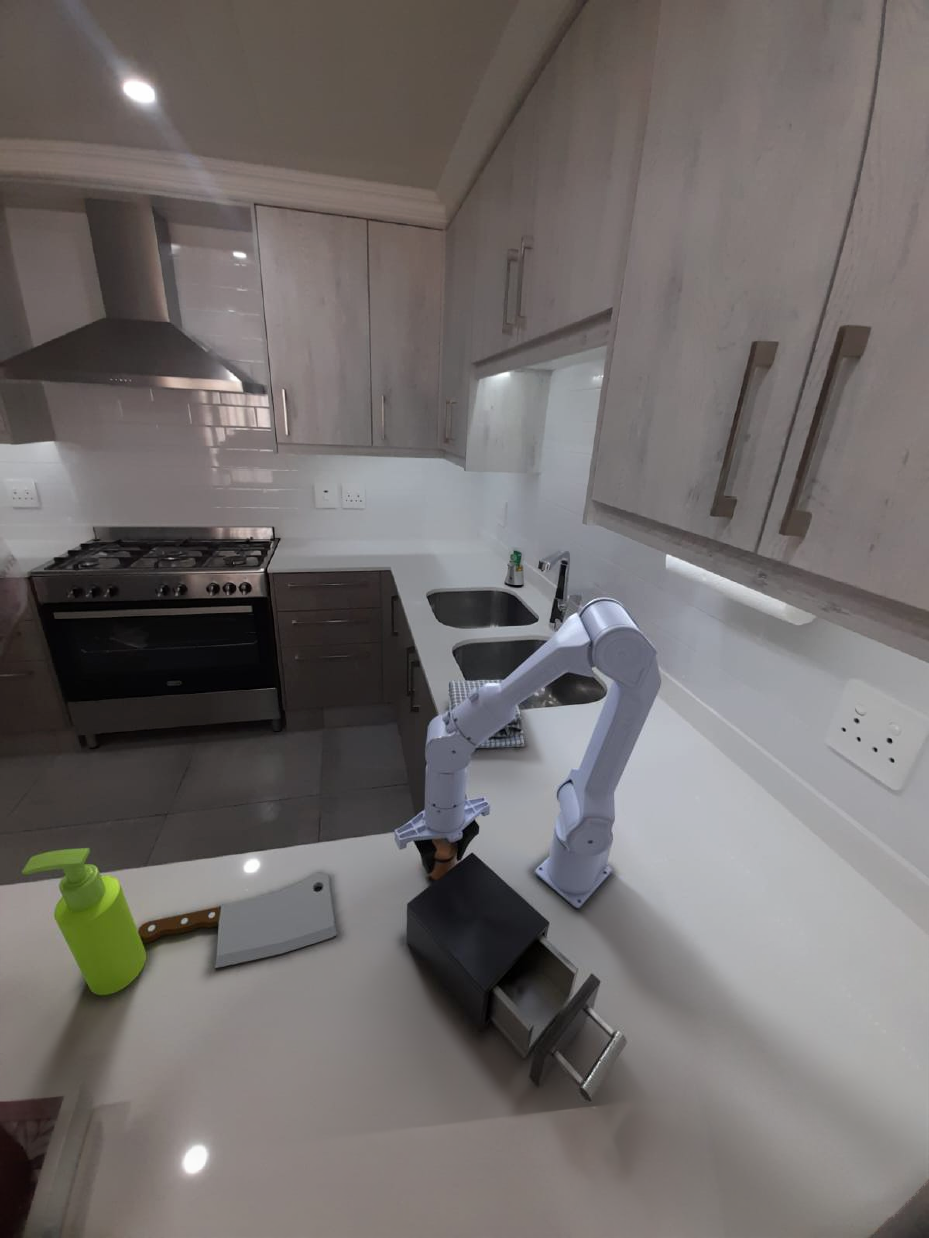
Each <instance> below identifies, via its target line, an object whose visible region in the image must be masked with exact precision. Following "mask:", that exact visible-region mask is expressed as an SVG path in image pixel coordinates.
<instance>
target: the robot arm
mask: <svg viewBox="0 0 929 1238" xmlns="http://www.w3.org/2000/svg"><path fill="white" fill-rule="evenodd" d="M657 654H658V650H657V649H656V647H655V646H654V645H653V644H652V642H651V641H650V640H649V639H648V638H647V637H646V635H645V634H644V633H643V632H642V630H641V629H640V627H639V625H638V623H637V622H636V620H635V619H634V618H633V616H632V615H631V614H630V612H629V611H628V610H627V609H626V608H625V606H624V605H623V604H622V603H621V602H620V601H618V600H617V599H614V598H612V597H598V598H594V599H592V600H590V601H589V602H587V603H586V604H585V605H584V606H583V607H582V608H581V609H580V611H579V612H575V613H573V614H571V615H569V616H568V617H567V618H566V620H565V621H563V624H562V625H561V626H560V627H559V628H558V630H557V631H556V632H555V633H554V635H552V636H551V637H550V638H549V639H548V640H547V641H546V642H545V643H543V644H542V645H541V646H540V647H539V648H538V649H537V650H536V651H534V652H533V653H532V654H531V655H530V656H529V657H528V658H527V659H526V660H525V661H524V662H522V663H521V664H520V665H519V666H518V667H517V668H516V669H515V670H513V671H512V672H511V673H510V674H509V675H508V676H506V678H505V679H503V680H504V681H502V682H501V683H486V684H484V685H483V686H482V687H481V688H479V689H477V688H476V687H474V688H473V689H472V690H470V691H469V692H468V698H467V699H466V700H464V701H463V702H462V703H461V704H459V705H458V706H457V707H456V708H455V709H453V710H452V711H451V712H449V710H447V711H445V712H444V713H441V714H438V715H436V716H435V717H433V718H432V719H431V720H430V722H429V724H428V726H427V727H426V729H427V734H426V735H427V736H426V739H425V740H426V741H425V747H424V758H425V762H426V766H425V781H424V782H425V783H424V809H423V810H422V811H420V812H419V813H418V814H417V815H416V816H414V817H413V818H411V820H409V821H408V822H406V823H405V824H404V825H402V826H400V827H399V828H396V829H394V841H395V844H396V846H397V848H398V850H399V851H401V850H404V849H406V848H407V844H409V843H411V842H413V843H414V845H415V847H416V849H417V851H418V852H419V855H420V858H421V864H422V866H423V868H424V871H425V872H426V874H427V875H429V874H430V873H432V871H433V860H434V856H435V853H436V851H437V849H436V847H435V845H434V843H433V842H432V839H438V838H447V839H448V840H449V841H450V842H455V841H456V843H457V845H458V852H457V862H460V861H462V860H463V857H464V855H465V852H466V851H467V849H468V846H469V845H470V844H471V842H472V841H473V839H474V838H476V836H478V835H479V834H480V825H479V823H478V822H477V821H476V819H477V818H478V817H479V816H480V815H481V816H482V817H486V816H489V815H490V813H491V804H490V803H489V801H488V800H487V798H486V797H485V796H480V797H476V798H469V799H468V798H467V799H466V795H467V781H468V766H469V764H470V763H471V758H472V754H473V753H474V752H475V751H476V749H477V748H476V747H478V746H479V745H480V744H482V743H483V742H484V741H486V740H487V739H488V738H490V737H491V736H492V735H494V734H495V733H496V732H498V731H499V730H500V729H502V728H503V727H504V726H505V725H507V724H508V723H509V722H511V721H512V720H513V719H514V718H515V709H516V706H517V705H518V706H519V705H520V704H521V703H523V702H524V701H525V700H527V699H528V698H530V697H532V696H533V695H535V694H536V693H538V692H539V691H541V690H542V689H544V688H545V687H547V686H548V685H550V684H551V683H553V682H554V681H555V680H558V679H559V678H560V677H562V676H564V674H567V673H571V674H575V675H579V676H584V677H587V678H595V677H596V675H595V673H594V670H593V669H592V668H596V670H597V671H599V672H600V673H601V674H603V676H605V677H607V678H609V679H611V680H612V682H611V685H610V688H609V690H608V693H607V696H606V698H605V700H604V703H603V706H602V709H601V710H600V713H599V716H598V719H597V721H596V724H595V727H594V728H593V731H592V734H591V737H590V739H589V742H588V744H587V747H586V749H585V751H584V752H585V753H584V754H583V757H582V760H581V763H580V765H579V767H573V768H571V769H570V771H569V774H568V776H567V777H566V778H565V779H564V780H563V781H562V782H560V783H559V785H558V786H557V788H556V792H555V794H556V795H555V796H556V799H557V802H558V804H559V810H560V812H559V814H558V816H557V817H556V820H555V822H554V828H553V834H552V838H551V839H552V840H551V845H550V850H549V855H548V857H547V858H546V859H545V860H544V861H543V862H542V863H541V864H540V865H538V866H537V868H536V869H535V871H534V873H535V875H536V876H538V878H540V879H541V880H542V881H543V882H545V883H546V884H547V885H548V886H549V887H551V889H553V891H555V892H556V893H557V894H559V895H560V896H561V897H563V899H565V900H566V901H567V902H568V903H569V904H570V905H572V906H573V907H574V908H576V909H580V908H581V907H582V906H583V905H584V903H586V901H587V900H588V899H590V897H591V896H592V894H594V892H595V891H596V890H597V889H598V888H599V886H601V885H602V883H604V881H605V880H606V879H607V878H608V877H609V876H610V874H611V873H612V869H613V868H612V867H611V866H610V865H608V861H609V857H610V853H611V850H612V849H611V848H612V845H613V841H614V834H613V826H614V823H615V821H616V807H615V806H616V805H615V792H616V789H617V787H618V785H619V782H620V780H621V778H622V776H623V774H624V772H625V769H626V767H627V764H628V762H629V760H630V757H631V755H632V753H633V751H634V748H635V746H636V744H637V742H638V739H639V737H640V734H641V732H642V730H643V728H644V725H645V723H646V721H647V719H648V717H649V714H650V712H651V709H652V707H653V705H654V702H655V701H656V698H657V697H658V694H659V691H660V689H661V686H662V677H661V674H660V669H659V665H658V660H657Z"/></svg>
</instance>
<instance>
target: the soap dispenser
mask: <svg viewBox="0 0 929 1238" xmlns="http://www.w3.org/2000/svg"><path fill="white" fill-rule="evenodd" d="M90 853H91V849H90V848H89V847H83V848H81V847H80V848H79V847H78V848H68V849H57V850H52V851H47V852H43V853H39V854H36V855H33V856H31V857H30V859H29V860H28V861H27V863H26V864H25V866H24V868H23V869H22V870H21V874H24V875H31V874H35V873H38V872H46V871H55V870H62V871H63V873H64V876H63V877H62V878H61V880H60V881H59V884H58V888H59V892H60V893H61V897H60V899H59V900H58V901H57V903H56V906H55V907H54V913H53V917H54V919H55V922H56V923H57V926H58V929H60V932H61V934H62V936H63V938H64V940H65V942H66V944H67V946H68V948H69V950H70V953H71V954H72V955H73V958H74V960H75V962H76V964H77V966H78V968H79V970H80V972H81V975H82V976H83V978H84V980H85V982H86V984H87V985H88V988H89V990H90V991H91V992H92V993H93V994H95V995H99V996H107V995H112V994H115V993H117V992H119V991H121V990H123V989H124V988H126V987H127V986H129V985H130V984H131V983H132V982H133V981H135V979H136V978H137V977H138V976H139V975H140V973H141V972H142V970H143V968H144V966H145V964H146V961H147V952H146V949H145V946H144V942H143V941H141V938H140V935H139V933H138V931H139V929H138V927H137V925H136V922H135V920H134V918H133V914H132V912H131V909H130V906H129V905H128V902H127V899H126V896H125V894H124V892H123V889H122V886H121V883H120V881H119V880H118V878H116V877H115V876H113V875H109V874H101V873H100V871H99V868H98V867H97V865H95V864H92V863H87V864H85V862H86V861H87V859H88V857H89V855H90Z"/></svg>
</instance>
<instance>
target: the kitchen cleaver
mask: <svg viewBox="0 0 929 1238" xmlns="http://www.w3.org/2000/svg"><path fill="white" fill-rule="evenodd" d="M319 887H321V888H322V889H321V890H319V891H315V889H316V888H319ZM330 888H331V886H330V879H329V875H327V874H325V873H322V872H319V871H318V872H317V873H314V874H313V875H311V876H310V877H308V878H306V879H305V880H302V881H300V882H298V883H296V884H293V885H290V886H288V887H286V888H285V887H284V888H283V889H280V890H277V891H274V892H270V893H267V894H264V895H261V896H258V897H254V898H250V899H246V900H241V901H237V902H232V903H228V904H225V905H219V906H216V907H210V908H205V909H201V910H197V911H192V912H188V913H182V914H177V915H173V916H169V917H163V918H159V919H154V920H150V921H147V922H145V923H143V924H142V925H140V926H139V928H138V933H139V935H140V938H141V941H142V943H143V944H146V943H152V942H155V940H158V939H159V938H161V937H162V936H167V935H173V936H175V935H179V934H182V933H188V932H191V931H194V930H196V929H199V928H208V929H212V928H216V927H217V928H218V929H217V944H216V958H215V964H214V969H219V968H223V967H227V966H232V965H237V964H241V963H246V962H251V961H256V960H259V959H264V958H269V957H273V956H277V955H282V954H286V953H288V952H292V951H295V950H299V949H301V948H304V947H308V946H311V945H313V944H317V943H320V942H323V941H327V940H330V939H332V938H334V937H336V936H337V935H338V933H337V927H336V925H335V918H334V917H335V916H334V909H333V902H332V901H333V900H332V894H331V893H332V892H331V889H330Z"/></svg>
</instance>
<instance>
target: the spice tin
mask: <svg viewBox="0 0 929 1238" xmlns="http://www.w3.org/2000/svg"><path fill="white" fill-rule="evenodd" d="M432 842H433V843H434V845H435V847H436V849H437V851H436V853H435V856H434V860H433V871H432V873H430V874H428V875H429V877H431V878H432V879H433V880H434V881H436V880H438V879H439V878H440V877H441V876H443V875H444V874H445V873H446V872H448V871H449V870H450V869H451V868H453V867H454V866H455V865H457V864H458V863H457V862H458V861H457V852H458V845H457V843H456V841H455V842H450V841H449V840H448V839H447V838H438V839H432Z"/></svg>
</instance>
